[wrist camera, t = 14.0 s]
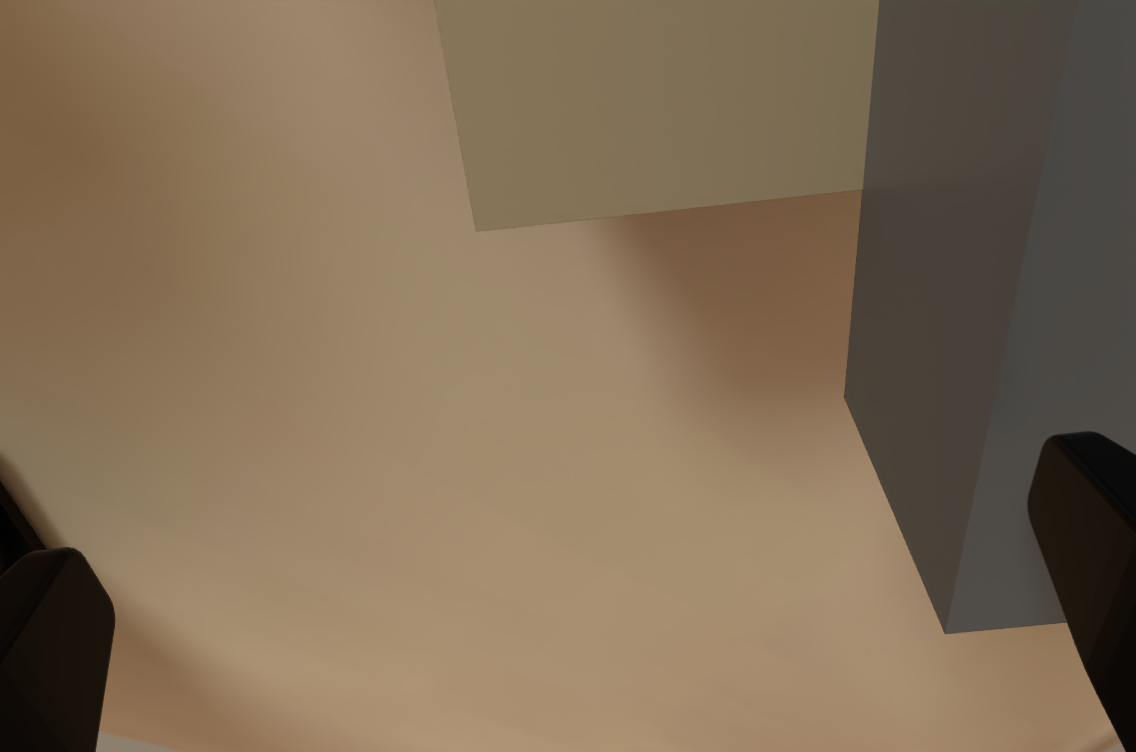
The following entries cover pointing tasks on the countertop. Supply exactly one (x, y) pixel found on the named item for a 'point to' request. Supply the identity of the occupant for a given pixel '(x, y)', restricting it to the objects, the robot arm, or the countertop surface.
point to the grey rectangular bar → (993, 278)
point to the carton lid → (655, 103)
